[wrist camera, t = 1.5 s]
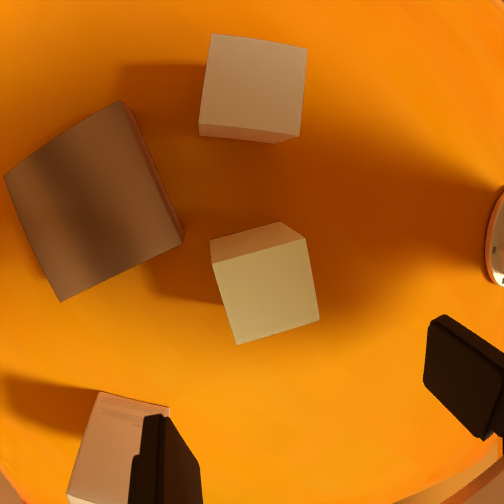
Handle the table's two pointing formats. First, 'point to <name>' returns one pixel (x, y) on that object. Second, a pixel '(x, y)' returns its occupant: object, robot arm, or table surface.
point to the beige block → (264, 281)
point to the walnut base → (93, 202)
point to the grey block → (252, 90)
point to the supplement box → (109, 450)
